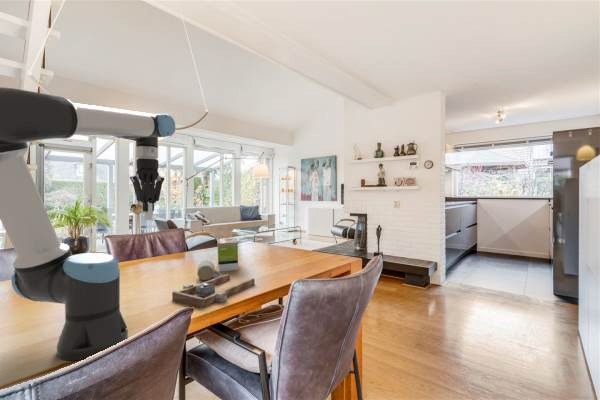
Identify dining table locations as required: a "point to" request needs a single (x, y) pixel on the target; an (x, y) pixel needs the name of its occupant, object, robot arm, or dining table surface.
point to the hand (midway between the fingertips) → (148, 219)
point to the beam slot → (220, 297)
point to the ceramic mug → (207, 271)
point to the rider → (205, 290)
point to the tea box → (227, 254)
